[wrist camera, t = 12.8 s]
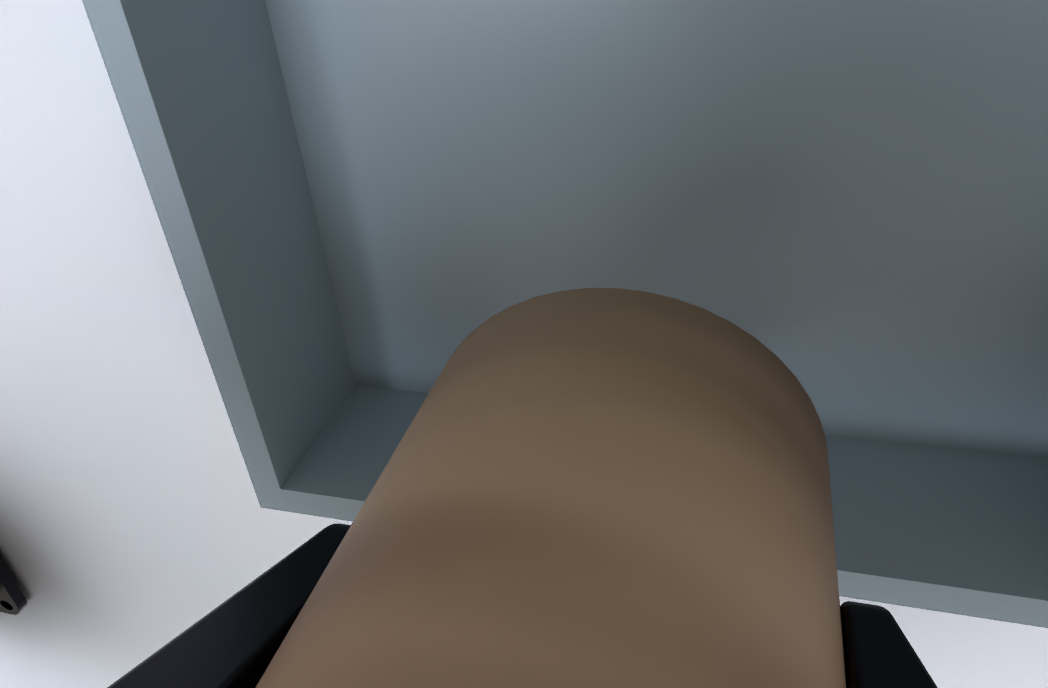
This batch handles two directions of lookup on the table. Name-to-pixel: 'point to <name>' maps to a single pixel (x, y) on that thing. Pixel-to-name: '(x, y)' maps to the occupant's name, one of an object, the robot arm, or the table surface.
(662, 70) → the tote
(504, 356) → the walnut cylinder
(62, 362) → the table surface
